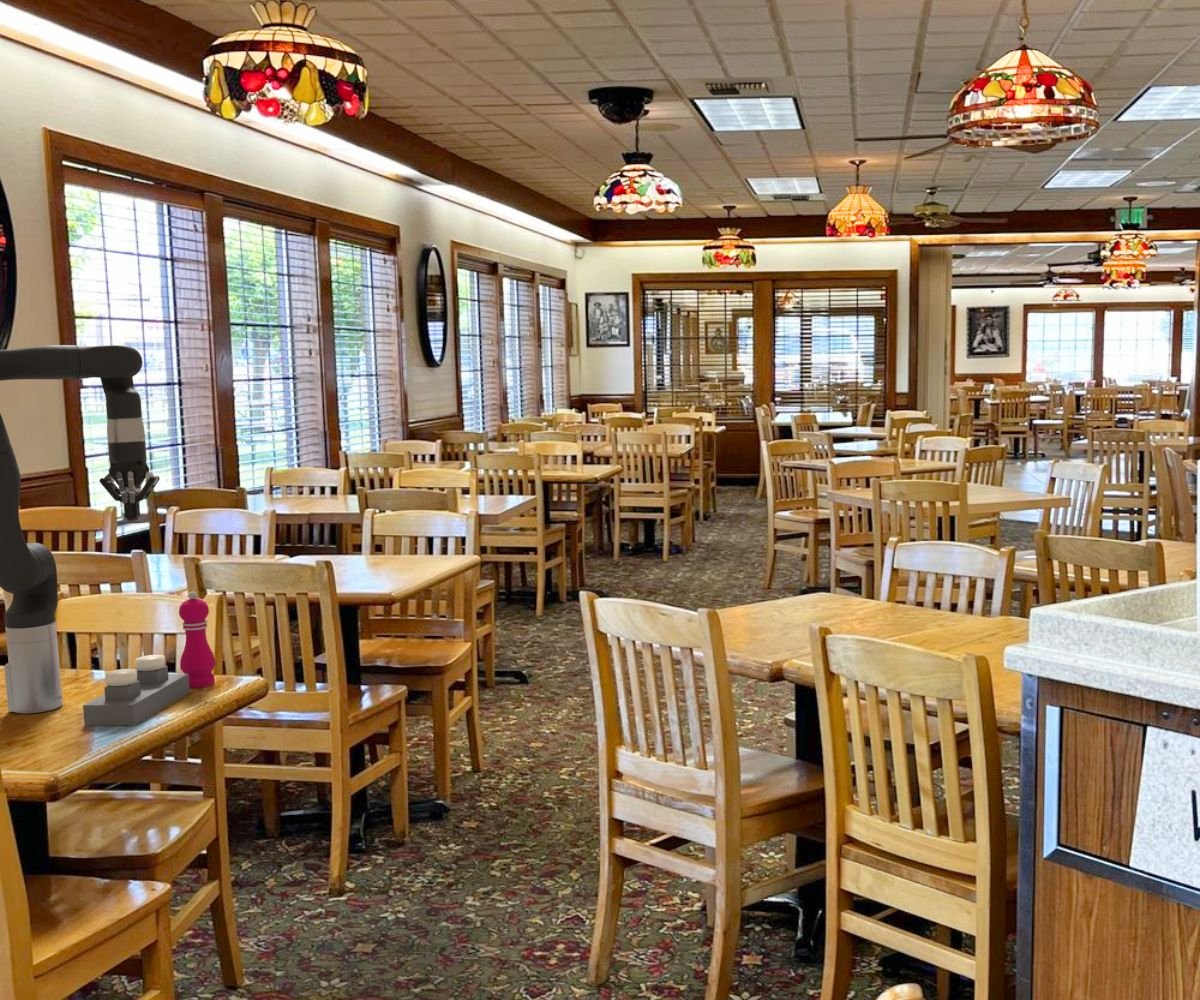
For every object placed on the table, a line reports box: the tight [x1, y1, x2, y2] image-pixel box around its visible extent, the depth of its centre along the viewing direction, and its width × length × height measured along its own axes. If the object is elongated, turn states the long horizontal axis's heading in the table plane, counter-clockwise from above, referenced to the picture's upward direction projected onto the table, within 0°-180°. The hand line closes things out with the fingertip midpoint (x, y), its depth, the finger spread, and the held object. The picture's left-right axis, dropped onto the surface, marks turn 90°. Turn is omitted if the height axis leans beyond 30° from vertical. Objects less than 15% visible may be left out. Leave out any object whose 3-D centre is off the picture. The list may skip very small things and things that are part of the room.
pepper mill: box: [178, 591, 217, 689], centre depth 271 cm, size 7×7×20 cm
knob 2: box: [134, 654, 166, 671], centre depth 259 cm, size 6×6×4 cm
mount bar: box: [82, 665, 191, 727], centre depth 253 cm, size 10×24×6 cm, turn 173°
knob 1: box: [105, 668, 137, 686], centre depth 247 cm, size 6×6×4 cm
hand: (132, 520), depth 274 cm, fingers closed
